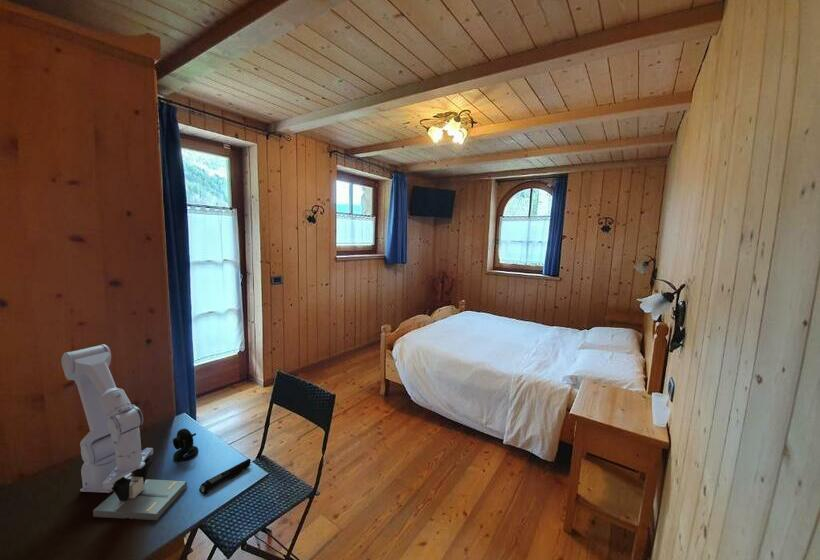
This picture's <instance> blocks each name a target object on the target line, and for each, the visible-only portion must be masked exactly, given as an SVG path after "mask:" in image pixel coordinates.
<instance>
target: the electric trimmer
mask: <svg viewBox="0 0 820 560" xmlns="http://www.w3.org/2000/svg"><path fill="white" fill-rule="evenodd" d="M250 466H251V459H250V458H247V459H245V460H244V461H242V462H240V463H238V464H236V465H234V466H232V467H231V468H229V469H226V470H224V471H222V472H221V473H218V474H217V475H214V476H213V477H211V478H209V479H207V480H205V482H202V483H201V485H200V486H199V489H198V491H199V492H200V494H201V496H205V495H207V494H209V492H210V491H211V490H212V489H214V488H216V487H218V486H220V485H221V484H222V483H224V482H226V481H227V480H228V481H229V480H231V479H234V478H236V477H237V476H238V475H239V474H241V473H243V472H244V471H245V470H247V469H248V468H249V467H250Z"/></svg>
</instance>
